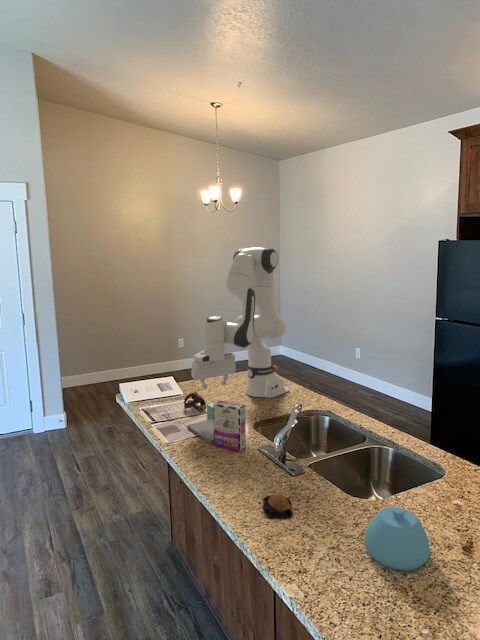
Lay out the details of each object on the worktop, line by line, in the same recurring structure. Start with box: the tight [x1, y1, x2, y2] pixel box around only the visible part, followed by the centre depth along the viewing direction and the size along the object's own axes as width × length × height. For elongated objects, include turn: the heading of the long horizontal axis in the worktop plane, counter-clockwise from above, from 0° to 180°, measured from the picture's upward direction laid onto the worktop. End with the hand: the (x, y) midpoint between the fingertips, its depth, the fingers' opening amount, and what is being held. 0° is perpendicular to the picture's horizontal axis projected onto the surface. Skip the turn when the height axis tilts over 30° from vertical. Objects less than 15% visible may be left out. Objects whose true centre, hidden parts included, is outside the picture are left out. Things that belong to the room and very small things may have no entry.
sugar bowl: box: [363, 506, 431, 572], centre depth 112 cm, size 15×15×12 cm
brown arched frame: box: [183, 391, 207, 410], centre depth 210 cm, size 12×9×8 cm
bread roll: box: [262, 494, 294, 520], centre depth 131 cm, size 11×8×4 cm
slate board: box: [187, 418, 214, 445], centre depth 184 cm, size 14×18×1 cm
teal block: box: [206, 402, 216, 419], centre depth 200 cm, size 5×5×5 cm
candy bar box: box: [213, 400, 247, 453], centre depth 169 cm, size 11×5×16 cm, turn 62°
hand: (214, 386), depth 197 cm, fingers open, 8 cm apart
